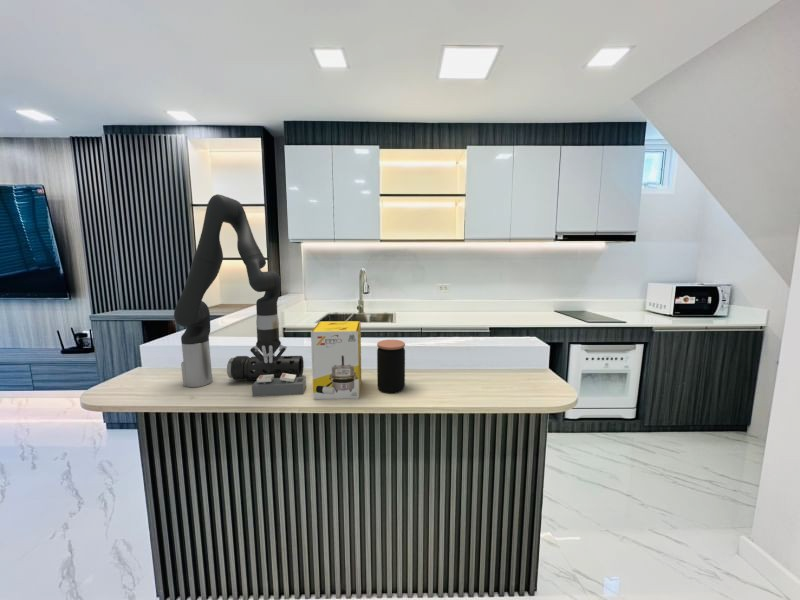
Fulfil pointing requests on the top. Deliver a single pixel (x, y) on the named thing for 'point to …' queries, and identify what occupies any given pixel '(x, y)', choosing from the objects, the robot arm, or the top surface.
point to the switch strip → (279, 387)
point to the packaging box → (336, 360)
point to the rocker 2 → (288, 377)
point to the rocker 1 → (265, 378)
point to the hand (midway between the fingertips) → (269, 371)
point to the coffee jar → (391, 366)
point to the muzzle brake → (263, 367)
